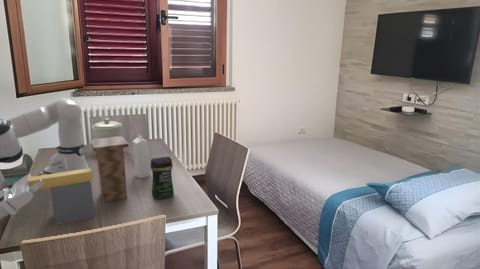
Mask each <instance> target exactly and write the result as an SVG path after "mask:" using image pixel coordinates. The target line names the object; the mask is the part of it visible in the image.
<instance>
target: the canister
mask: <svg viewBox="0 0 480 269" xmlns="http://www.w3.org/2000/svg"><path fill="white" fill-rule="evenodd" d="M122 126H123V123H121V122H119V121H114V120H110V119H109V118H108V117H106V118H103V121H100V122H99V121H98V122H96V123H94V124H93V125H92V126H91V128H92V129H93V133H94V139H101V138H109V137H118V136H122Z"/></svg>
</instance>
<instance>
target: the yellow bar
mask: <svg viewBox="0 0 480 269" xmlns="http://www.w3.org/2000/svg"><path fill="white" fill-rule="evenodd" d="M39 180H42V181H43V182H44V184H43V185H42V186H41V187H39V188H38V190H37V191H40V190H44V189H51V188H52V187H58V186H64V185H70V184H76V183H82V182H88V181H91V182H92V181H93V182H94V180H93V172H92V169H91V167H88V168H87V169H80V170H74V171H67V172H60V173H49V174H44V175H41V176H34V177H28V184H29V187H31V186H33V185H34V184H36V183H37V182H38V181H39Z"/></svg>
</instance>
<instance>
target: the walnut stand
mask: <svg viewBox="0 0 480 269" xmlns="http://www.w3.org/2000/svg"><path fill="white" fill-rule="evenodd" d="M89 142H90V146H91V148H92V151H93V152H96V158H97V168H98V177H99V187H100V195H101V197H102V201H103V203H109V202H113V201H117V200H124V199H128V190H127V178H126V167H125V166H126V165H125V155H124V149H125V148H129V147H130V146H129V143H128V141H127V140H126V139H125V137H124V136H123V135H121V136H118V137H109V138H101V139H96V138H94V139H93V138H92V139H89Z"/></svg>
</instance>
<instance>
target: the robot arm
mask: <svg viewBox="0 0 480 269" xmlns="http://www.w3.org/2000/svg"><path fill="white" fill-rule="evenodd" d="M57 123H58V130H57V133H58V139H59V140H58V141H59V142H58V143H59V145H58V146H56V147H55V149H56V150H57V152H56V153H55V154H54V155H52V157H50V158H49V159H48V165H47V166H46V167H45V168H44V172H45V173H49V174H54V173H60V172H67V171H74V170H80V169H87V168H89V165H88V163H87V160H86V157H85V146H84V143H83V137H82V109H81V107H80V105H79V104H78V103H77V102H75V101H73V100H72V99H70V98H67V97H61V98H59V99H56V100H54V101H51V102H49V103H46V104H45V105H42V106H41V107H38V108H35V109H32V110H29V111H27V112H23V113H20V114H18V115H16V116H13V117H10V118H9V119H8V120H5V119H2V118H1V119H0V164H10V163H11V164H12V163H15V162H17V161H19V160H20V159H21V158H22V157H23V155H24V150H23V147H22V146H21V144H20V141H19V139H21V138H24V137H27V136H28V137H29V136H31V135H33V134H36V133H38V132H41V131H44V130H47V129H49V128H51V127H52V126H54V125H56V124H57ZM44 172H43V171H38V173H36V174H33V175H32V174H31V173H28V174H25V175H24V176H23V177H21V178H20V179H19V180H17V181H16V182H15V183H14V184H13V185H12V187H10V188H8V187H5V188H3V189H1V190H0V220H2V219H3V218H5V217H7V216H9V215H10V216H14V215H16V214H17V213H18V211H19V210H21V209H22V208H23V207H25V206H26V205H27V204H29V203H30V202H31V201H32V200H33V199H34V196H35V195H34V194H35V193H36V192H37V191H39V190H38V188H39V187H41V186H42V185H43V184H44V182H43V181H42V180H39V181H38V182H37V183H36V184H34V185H33V186H31V187H29V184H28V177H34V176H41V175H45V173H44Z"/></svg>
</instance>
